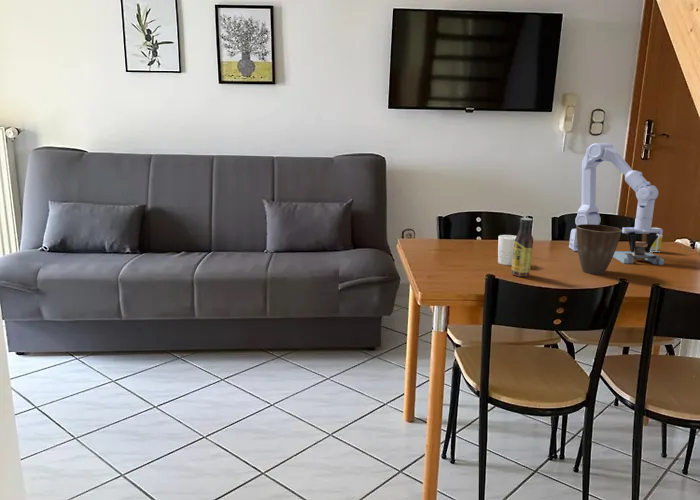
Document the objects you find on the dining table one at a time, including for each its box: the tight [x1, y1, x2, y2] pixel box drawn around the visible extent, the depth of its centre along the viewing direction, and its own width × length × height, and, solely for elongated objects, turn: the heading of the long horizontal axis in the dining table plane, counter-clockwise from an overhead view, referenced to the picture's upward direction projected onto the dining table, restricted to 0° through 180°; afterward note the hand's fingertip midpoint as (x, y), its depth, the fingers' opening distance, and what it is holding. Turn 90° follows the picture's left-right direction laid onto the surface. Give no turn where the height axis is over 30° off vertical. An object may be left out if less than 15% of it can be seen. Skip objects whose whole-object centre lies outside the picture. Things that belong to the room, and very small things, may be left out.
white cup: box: [497, 234, 517, 266], centre depth 226 cm, size 8×8×10 cm
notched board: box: [612, 250, 665, 266], centre depth 238 cm, size 15×13×2 cm
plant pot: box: [575, 224, 622, 275], centre depth 216 cm, size 15×15×16 cm
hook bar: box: [627, 254, 661, 266], centre depth 232 cm, size 12×2×3 cm, turn 88°
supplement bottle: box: [650, 227, 663, 253], centre depth 254 cm, size 5×5×10 cm
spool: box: [632, 241, 648, 260], centre depth 236 cm, size 5×5×5 cm
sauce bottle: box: [511, 217, 534, 278], centre depth 208 cm, size 6×6×20 cm
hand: (639, 251), depth 236 cm, fingers closed on spool, 5 cm apart
